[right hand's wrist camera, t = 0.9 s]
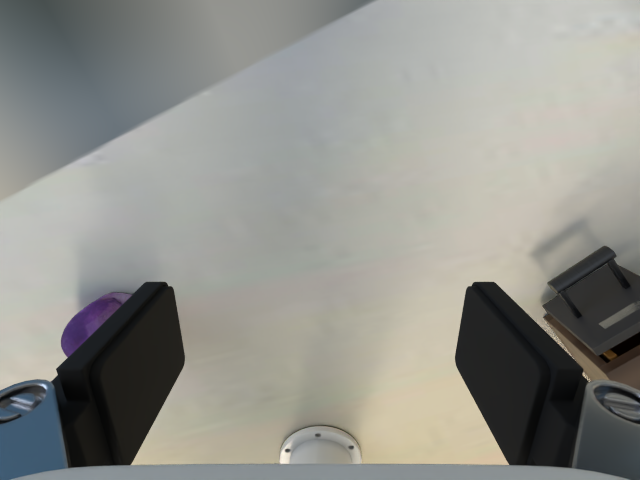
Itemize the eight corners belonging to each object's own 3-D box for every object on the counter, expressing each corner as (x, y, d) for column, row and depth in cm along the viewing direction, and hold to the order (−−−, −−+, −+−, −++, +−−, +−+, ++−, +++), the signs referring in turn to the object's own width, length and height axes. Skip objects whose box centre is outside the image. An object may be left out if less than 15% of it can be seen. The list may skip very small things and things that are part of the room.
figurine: (182, 311, 45) (119, 402, 31) (140, 359, 47) (64, 463, 33) (118, 267, 43) (18, 343, 28) (77, 320, 45) (-32, 413, 31)
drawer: (518, 273, 42) (565, 312, 34) (589, 226, 40) (657, 254, 32) (609, 395, 48) (666, 451, 40) (673, 359, 46) (748, 411, 38)
